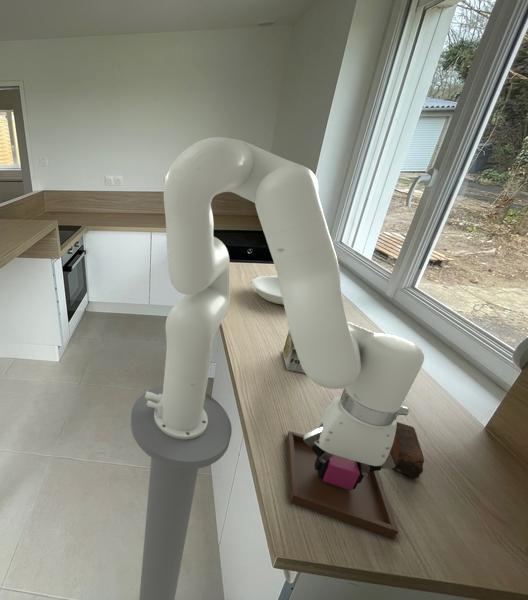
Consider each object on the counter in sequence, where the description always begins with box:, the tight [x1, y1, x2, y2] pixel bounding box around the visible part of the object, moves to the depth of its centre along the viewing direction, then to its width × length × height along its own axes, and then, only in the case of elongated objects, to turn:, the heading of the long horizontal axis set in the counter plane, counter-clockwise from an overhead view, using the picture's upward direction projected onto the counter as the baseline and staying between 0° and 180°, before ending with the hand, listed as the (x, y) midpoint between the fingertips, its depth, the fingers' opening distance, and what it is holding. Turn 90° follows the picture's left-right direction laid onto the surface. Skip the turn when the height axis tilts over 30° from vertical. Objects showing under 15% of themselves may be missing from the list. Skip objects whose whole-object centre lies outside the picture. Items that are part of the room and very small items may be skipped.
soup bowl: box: [250, 274, 284, 305], centre depth 135 cm, size 24×24×7 cm
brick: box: [390, 421, 425, 479], centre depth 66 cm, size 11×4×5 cm, turn 151°
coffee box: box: [282, 329, 306, 374], centre depth 93 cm, size 9×6×16 cm
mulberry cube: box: [323, 455, 360, 490], centre depth 60 cm, size 5×5×5 cm
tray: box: [286, 430, 399, 540], centre depth 61 cm, size 16×16×2 cm
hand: (335, 476), depth 61 cm, fingers closed on mulberry cube, 4 cm apart
